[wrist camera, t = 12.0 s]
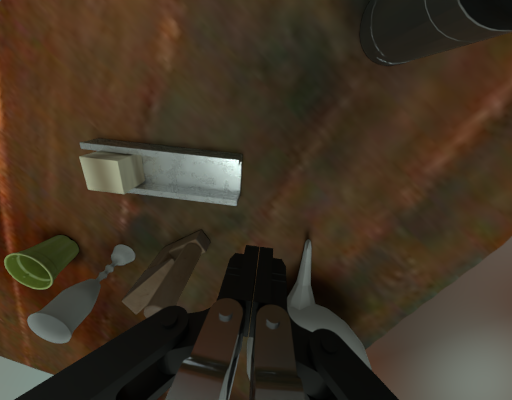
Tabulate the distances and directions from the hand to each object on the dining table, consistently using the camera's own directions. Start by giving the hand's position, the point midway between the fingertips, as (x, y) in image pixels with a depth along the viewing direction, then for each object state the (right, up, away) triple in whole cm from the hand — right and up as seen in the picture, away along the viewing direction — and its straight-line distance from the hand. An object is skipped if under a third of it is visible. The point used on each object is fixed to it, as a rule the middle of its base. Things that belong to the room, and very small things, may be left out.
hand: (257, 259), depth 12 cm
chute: (-16, +9, +27) cm, 33 cm away
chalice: (-30, -9, +38) cm, 49 cm away
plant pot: (-44, -7, +39) cm, 59 cm away
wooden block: (-15, -6, +35) cm, 38 cm away
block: (-23, +10, +27) cm, 37 cm away
